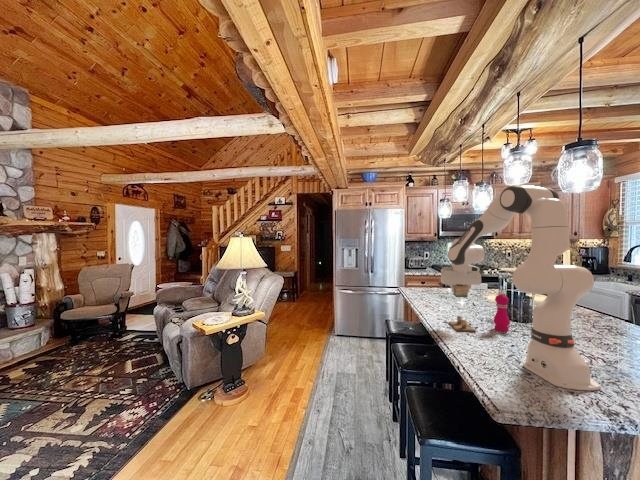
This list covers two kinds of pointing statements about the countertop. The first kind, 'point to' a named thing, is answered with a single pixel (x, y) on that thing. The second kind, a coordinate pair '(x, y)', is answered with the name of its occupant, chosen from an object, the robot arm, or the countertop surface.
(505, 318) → the pepper mill
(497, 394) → the countertop surface
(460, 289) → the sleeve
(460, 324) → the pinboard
